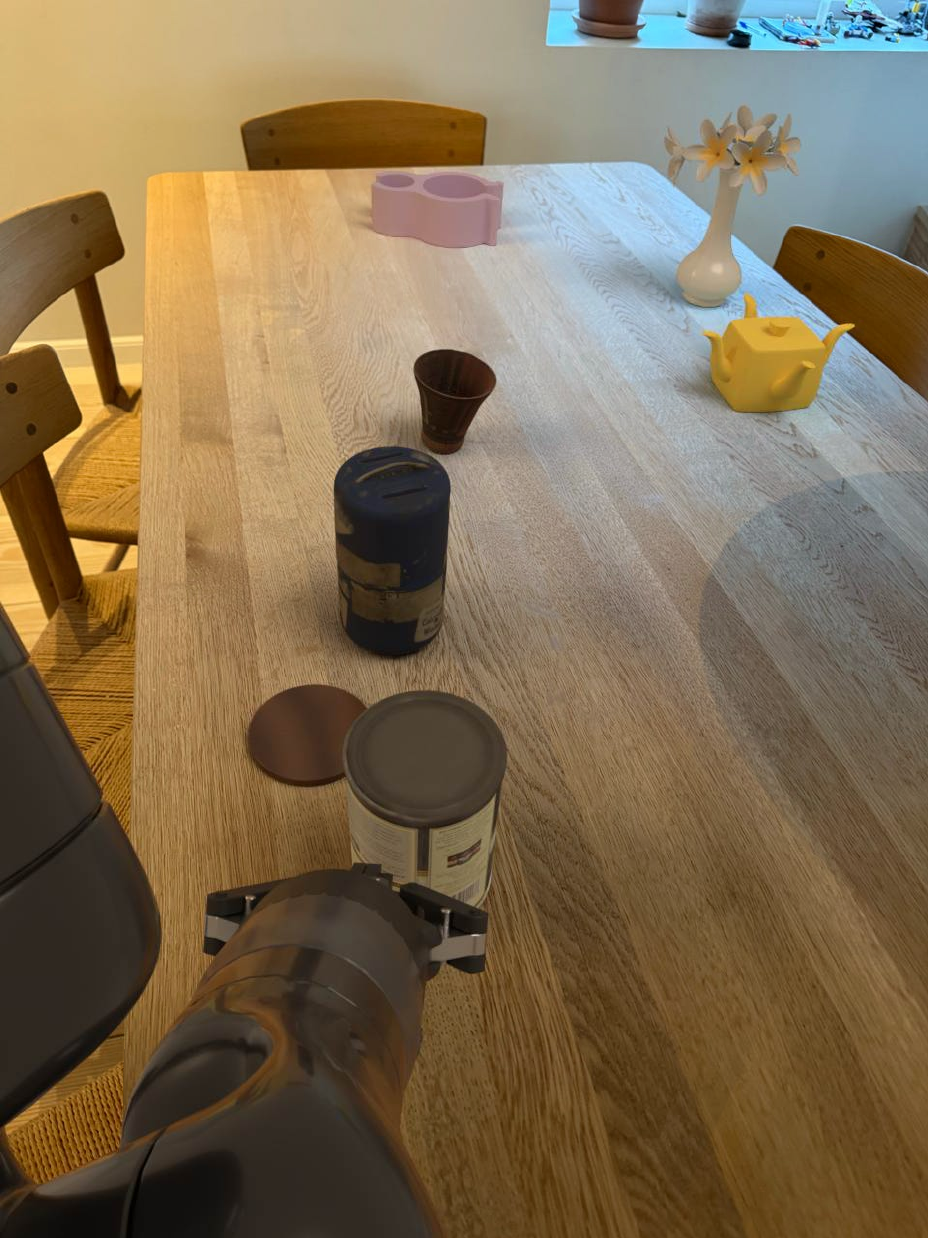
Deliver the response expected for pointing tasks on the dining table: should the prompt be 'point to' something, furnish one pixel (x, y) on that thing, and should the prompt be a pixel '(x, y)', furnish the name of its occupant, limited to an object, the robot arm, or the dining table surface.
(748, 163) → the flower vase
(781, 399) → the teapot
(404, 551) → the canister
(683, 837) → the dining table surface
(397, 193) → the pink cup holder
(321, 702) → the dark brown wooden coaster
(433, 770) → the coffee can
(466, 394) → the cup
